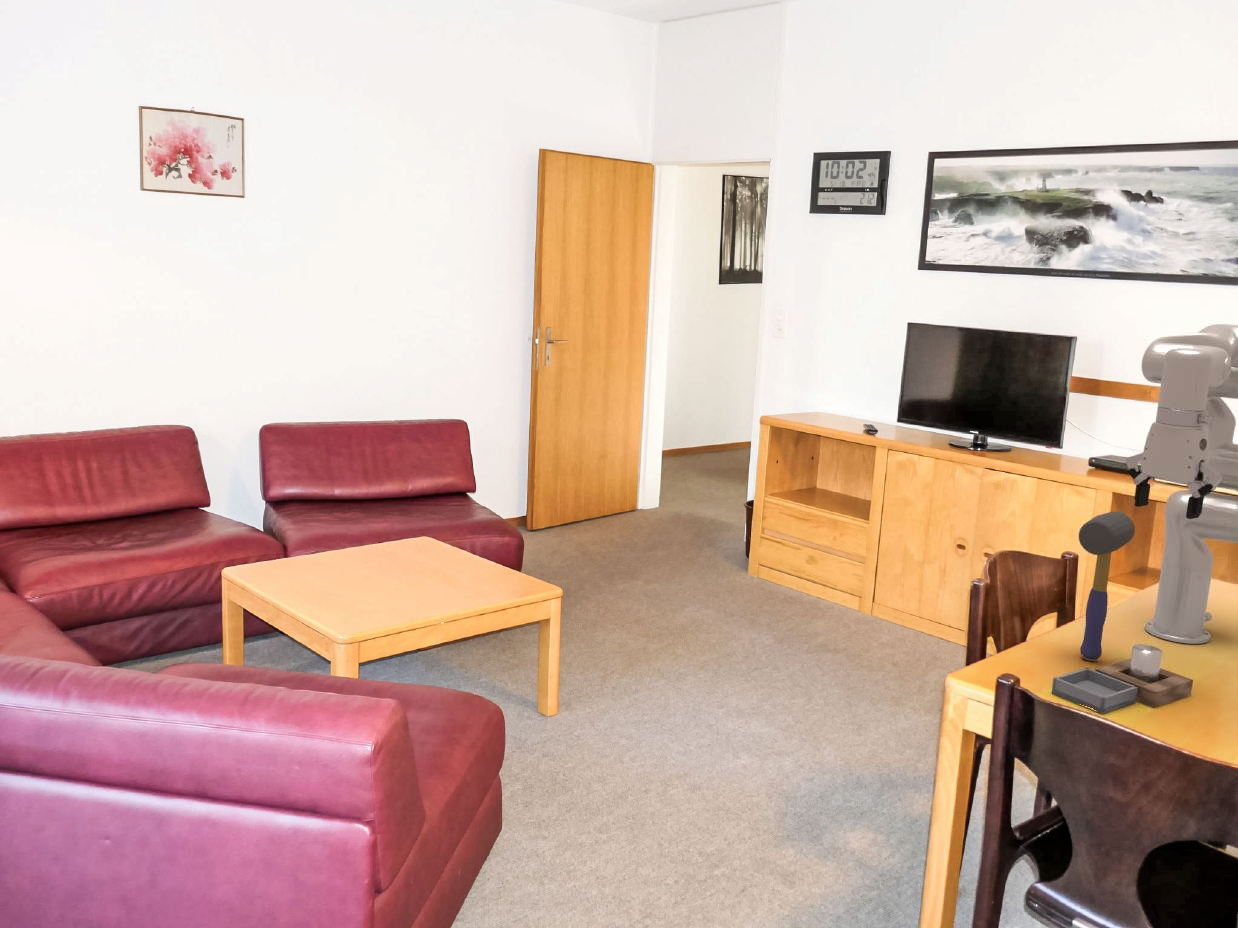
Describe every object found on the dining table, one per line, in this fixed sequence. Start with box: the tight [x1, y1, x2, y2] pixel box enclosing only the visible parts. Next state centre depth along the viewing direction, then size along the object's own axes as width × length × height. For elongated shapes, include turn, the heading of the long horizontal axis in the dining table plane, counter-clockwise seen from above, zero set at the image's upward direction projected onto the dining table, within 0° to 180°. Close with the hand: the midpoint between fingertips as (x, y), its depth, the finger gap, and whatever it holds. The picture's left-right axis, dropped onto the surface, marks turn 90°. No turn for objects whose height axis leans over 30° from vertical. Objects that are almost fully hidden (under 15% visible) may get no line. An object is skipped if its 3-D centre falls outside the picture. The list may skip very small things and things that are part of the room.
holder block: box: [1094, 657, 1194, 709], centre depth 198 cm, size 12×12×3 cm
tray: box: [1051, 667, 1138, 715], centre depth 194 cm, size 10×10×3 cm
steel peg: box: [1128, 643, 1163, 684], centre depth 198 cm, size 5×5×8 cm
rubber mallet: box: [1078, 511, 1136, 662], centre depth 210 cm, size 12×8×30 cm, turn 137°
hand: (1166, 511), depth 192 cm, fingers open, 9 cm apart
